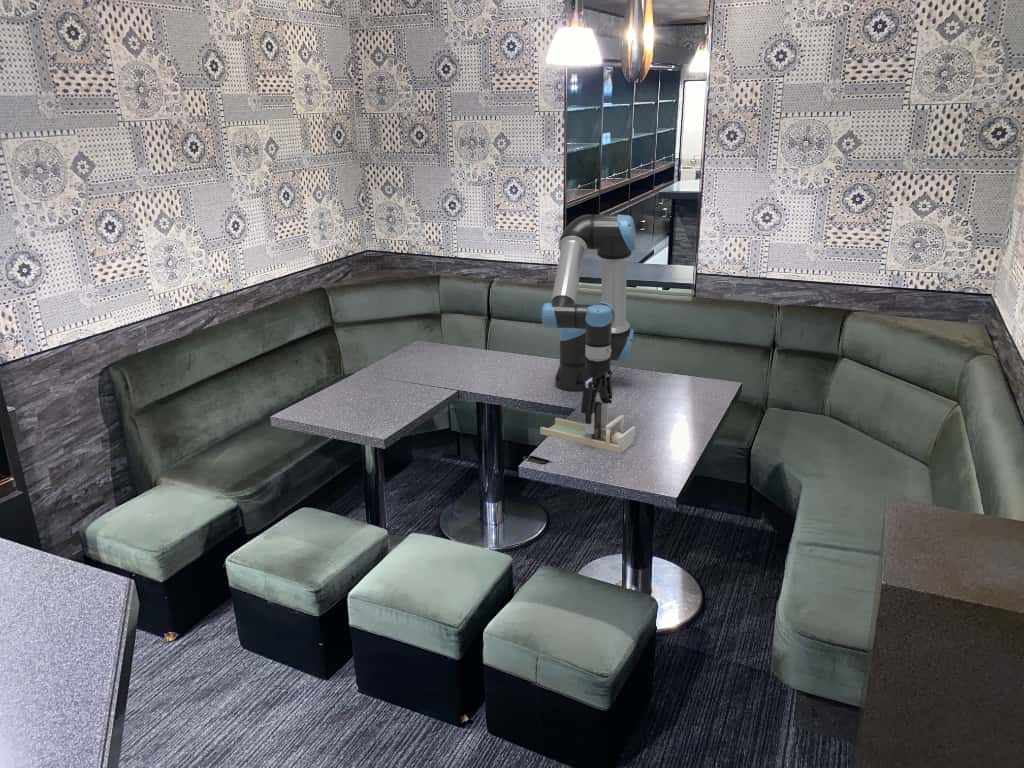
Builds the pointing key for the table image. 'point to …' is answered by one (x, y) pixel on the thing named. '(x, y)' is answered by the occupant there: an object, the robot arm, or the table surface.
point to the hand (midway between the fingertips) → (596, 427)
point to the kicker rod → (598, 424)
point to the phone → (535, 459)
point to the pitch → (577, 431)
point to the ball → (615, 438)
